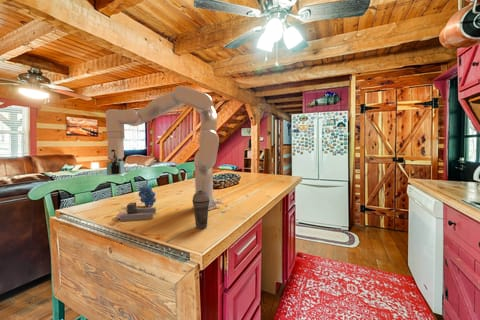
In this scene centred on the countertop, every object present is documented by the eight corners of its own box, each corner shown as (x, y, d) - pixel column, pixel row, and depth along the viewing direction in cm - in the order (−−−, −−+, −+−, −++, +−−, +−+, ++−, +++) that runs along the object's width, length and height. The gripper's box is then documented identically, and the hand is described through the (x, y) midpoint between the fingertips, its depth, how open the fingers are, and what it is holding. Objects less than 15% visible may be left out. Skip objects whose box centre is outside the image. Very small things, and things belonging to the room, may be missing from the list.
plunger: (136, 214, 113) (136, 202, 112) (134, 217, 108) (133, 205, 108) (120, 215, 111) (119, 203, 111) (117, 218, 106) (116, 206, 106)
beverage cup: (193, 224, 100) (192, 179, 98) (210, 223, 101) (209, 178, 99) (191, 230, 93) (190, 182, 91) (209, 230, 93) (209, 181, 92)
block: (124, 172, 115) (123, 161, 114) (120, 174, 109) (120, 162, 108) (111, 173, 113) (110, 161, 113) (107, 175, 107) (106, 162, 107)
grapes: (133, 207, 127) (132, 186, 126) (142, 204, 134) (141, 183, 133) (150, 209, 123) (149, 187, 122) (158, 205, 130) (158, 185, 129)
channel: (156, 212, 118) (155, 207, 117) (152, 218, 107) (152, 213, 107) (126, 214, 115) (126, 209, 114) (120, 221, 104) (120, 215, 104)
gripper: (113, 136, 117) (114, 171, 119) (100, 135, 101) (102, 175, 102) (128, 136, 119) (130, 170, 120) (118, 135, 102) (120, 175, 103)
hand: (117, 172), depth 111 cm, fingers closed on block, 6 cm apart
